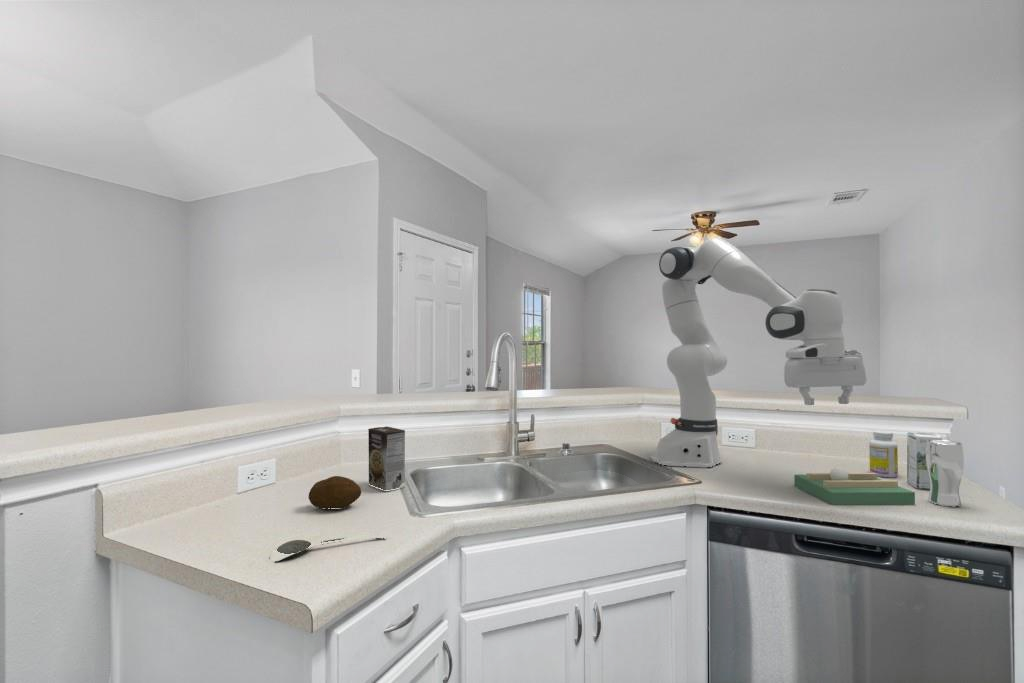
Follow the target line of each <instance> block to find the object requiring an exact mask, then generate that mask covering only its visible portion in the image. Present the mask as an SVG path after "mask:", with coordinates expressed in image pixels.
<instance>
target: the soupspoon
mask: <svg viewBox="0 0 1024 683" xmlns="http://www.w3.org/2000/svg"><path fill="white" fill-rule="evenodd" d="M344 538H345V537H343V538H334V539H328V540H327V539H326V540H323V542H328V541H335V540H341V539H344ZM320 542H321V543H322V541H320ZM311 543H312V542H310V541H308V540H305V539H304V540H303V539H294V540H290V541H287V542H285V543H283V544H281V545H279V546H278V547H277V548H278V549H277V548H276V549H277V551H278V552H280V553H284V554H291V553H297V552H299V551H301V552H303V551H305V550H304V549H306V548H308V547H309V546H310V545H311ZM308 549H309V548H308ZM302 550H303V551H302ZM306 550H307V549H306ZM299 553H300V552H299ZM297 554H298V553H297Z"/></svg>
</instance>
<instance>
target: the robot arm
mask: <svg viewBox="0 0 1024 683" xmlns="http://www.w3.org/2000/svg"><path fill="white" fill-rule="evenodd" d="M658 268H659V271H660V273H661V274H662V276H664V277H665V278H667V279H665V281H663V283H662V285H661V286H662V290H661V291H662V298H663V305H664V309H665V312H666V316H667V320H668V324H669V327H670V330H671V332H672V334H673V335H674V336H675V337H677V339H678V340H679V342H680V343H681V345H680V346H677V347H674V348H673V349H671V350H670V351H669V353H668V355H667V356H666V365H667V368H668V370H669V372H670V373H671V374H672V375H673V376H674V377H675V382H676V384H677V387H678V392H679V399H680V400H679V403H680V417H679V418H677V419H676V418H675V417H671V419H670V423H671V424H672V425H674V429H672V430H671V431H670V432H668V433H667V434H666V435H665V436H663V437H661V438H660V439H659V441H658V444H657V450H656V453H655V452H653V453H650V457H649V458H650V460H651V461H652V460H653V461H652V462H654V461H655V462H657V463H660V464H663V465H662V466H664V465H667V467H684V466H686V468H687V467H688V468H707V467H711V468H713V467H715V466H717V465H716V464H718V465H720V464H721V463H722V462H721V461H722V458H721V456H720V451H719V445H718V438H717V436H718V430H719V428H718V419H717V416H716V415H717V412H716V411H717V404H716V402H717V399H716V394H715V393H714V392H713V390H712V389H711V386H710V382H709V378H708V377H711V376H712V377H713V376H715V375H717V374H719V373H720V372H723V370H724V369H725V368H726V366H727V363H728V355H727V354H726V352H725V351H724V350H723V348H721V347H720V346H719V345H718V343H717V341H716V340H715V338H714V337H713V335H712V334H711V332H710V330H709V327H708V325H707V324H706V321H705V318H704V314H703V312H702V309H701V306H700V303H699V302H700V301H699V299H698V296H697V292H696V288H697V284H698V285H703V284H705V282H707V280H709V279H711V278H712V279H713V280H714V281H715V282H716V283H717V284H719V285H720V286H721V287H723V288H725V289H726V290H728V291H730V292H733V293H737V294H741V295H744V296H745V295H746V296H750V297H753V298H756V299H759V300H760V301H762V302H764V303H766V304H767V305H768V306H769V307H771V309H770V310H769V312H768V313H767V315H766V316H765V322H764V323H765V329H766V332H768V334H769V335H770V336H771V337H773V338H775V339H778V340H783V341H787V340H788V341H801V342H803V344H801V345H799V346H795V347H794V348H790V349H788V350H786V351H785V358H787V360H786V361H785V363H784V368H783V370H784V374H783V376H784V377H783V378H784V383H785V385H786V387H787V388H797V389H798V388H799V393H800V394H801V396H802V398H803V401H804V403H803V404H804V405H805V406H814V405H815V398H814V397H812V396H811V395H810V393H809V392H811V388H825V387H827V388H828V387H830V388H831V387H840V388H841V390H842V393H841V395H840V396H838V398H837V399H838V400H837V402H838V404H840V405H848V404H849V402H850V400H849V397H850V396H851V394H852V392H853V391H854V390H853V387H854V386H855V387H857V386H859V387H860V386H861V387H862V386H865V384H866V383H867V375H866V374H867V373H866V369H865V364H864V361H863V355H862V354H861V353H860V352H859V351H857V350H855V349H852V350H845V337H844V335H843V331H842V326H843V324H844V316H843V308H842V303H841V298H840V296H839V294H838V293H837V292H836V291H834V290H831V289H821V288H820V289H818V288H816V289H814V288H810V289H807V290H804V291H803V292H802V293H801V295H798V296H797V297H796V296H795V295H793V294H792V293H791V292H790V291H788V289H786V288H785V287H783V286H782V285H781V284H779V283H778V282H776V280H774V279H773V278H771V277H770V276H769V275H768V274H767V273H766V272H764V271H763V270H762V269H761V268H760V267H758V265H756V264H755V263H754V262H753V260H751V259H750V258H749V257H748V256H747V255H746V254H745V253H744V252H742V251H741V250H740V249H739V248H738V247H737V246H734V244H732V243H731V242H728V241H727V240H725V239H724V238H721V237H716V236H715V237H714V236H713V237H710V238H707V239H706V240H704V242H702V244H700V246H683V247H682V246H674V247H670V248H667V249H666V250H664V252H662V253H661V254H660V257H659V261H658ZM655 462H654V463H655ZM657 463H656V464H657ZM719 463H720V464H719ZM660 464H659V465H660ZM712 466H713V467H712Z"/></svg>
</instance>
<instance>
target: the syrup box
mask: <svg viewBox="0 0 1024 683" xmlns="http://www.w3.org/2000/svg"><path fill="white" fill-rule="evenodd" d="M906 436H907V438H906V439H907V440H906V441H907V442H906V445H907V448H906V450H907V451H906V452H907V453H906V457H907V459H906V460H907V462H906V463H907V464H906V471H907V473H906V477H907V479H906V481H907V482H906V483H907V484H908V485H910V486H911V487H913V488H915V490H916V489H917V490H918V489H919V490H927V491H928V490H929V491H930V481H929V476H928V472H927V467H926V444H927V440H931V439H935V440H943V438H942V437H941V436H939V435H938V434H936V433H930V432H908V431H907V434H906Z"/></svg>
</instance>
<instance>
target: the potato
mask: <svg viewBox="0 0 1024 683" xmlns="http://www.w3.org/2000/svg"><path fill="white" fill-rule="evenodd" d="M361 488H362V487H361V486H360V485H358V483H357V482H355V481H354V480H352V479H350V478H348V477H346V476H342V475H341V476H340V475H334V476H330V477H328V478H325V479H321V480H319V481H317V482H315V483H314V484H313V485H312V486H311V488H310V489H309V490H310V491H309V492H308V497H307V498H308V500H309V502H310V504H311V505H312V506H314V507H316V508H317V507H318V508H317V509H320V508H325V509H324V510H332V509H331V508H342V509H345V508H347V507H348V506H349V507H350V506H351V505H352V504H353V503H355V502H356V501H357V500H358V499H359V498H360V497H361V496H362V495H361V494H362V489H361ZM344 507H345V508H344ZM328 508H330V509H328Z"/></svg>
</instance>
